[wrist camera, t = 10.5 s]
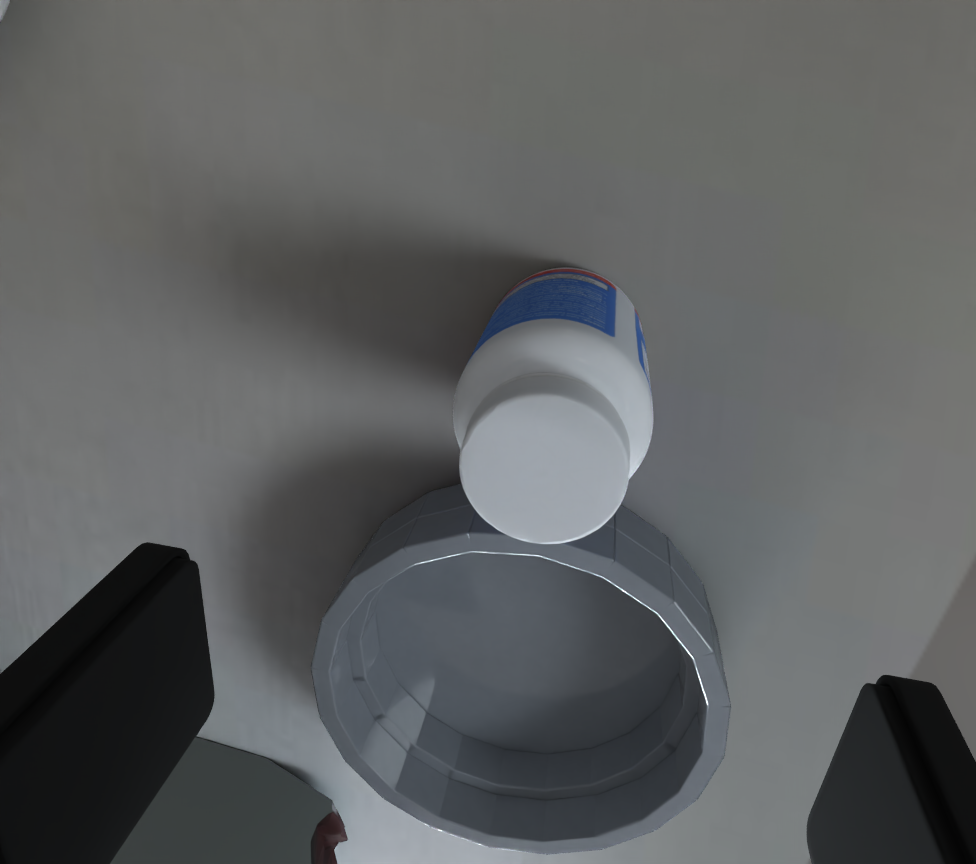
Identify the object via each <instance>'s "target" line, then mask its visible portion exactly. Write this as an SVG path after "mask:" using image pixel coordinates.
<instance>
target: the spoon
mask: <svg viewBox="0 0 976 864" xmlns="http://www.w3.org/2000/svg"><path fill="white" fill-rule="evenodd" d="M9 2H10V0H0V23H1V21H2V19H3V17H4V15H5V13H6V11H7V8H8V5H9Z"/></svg>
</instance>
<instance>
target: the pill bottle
mask: <svg viewBox="0 0 976 864" xmlns="http://www.w3.org/2000/svg"><path fill="white" fill-rule="evenodd" d="M453 425H454V431H455V435H456V439H457V442H458V445H459V447H460V450H461V451H460V457H459V472H460V478H461V482H462V486H463V489H464V492H465V494H466V496H467V498H468V500H469V501H470V503H471V505H472V506H473V507H474V509H475V510H476V511H477V513H478V514H479V515H480V516H481V517H482V518H483V519H484V520H485V521H486V522H487V523H489V524H490V525H492V526H493V527H494V528H496V529H497V530H499V531H501V532H502V533H504V534H506V535H508V536H510V537H513V538H516V539H519V540H522V541H526V542H531V543H539V544H560V543H565V542H570V541H573V540H577V539H580V538H582V537H585V536H587V535H589V534H591V533H592V532H594V531H596V530H598V529H599V528H600V527H601V526H603V525H604V524H605V523H606V522H607V521H608V520H609V519H610V518H611V517H612V516H613V515H614V513H615V512H616V511H617V509H618V508H619V506H620V504H621V502H622V500H623V498H624V496H625V493H626V490H627V487H628V481H629V479H630V478H631V477H632V475H633V474H634V473H635V471H636V470H637V469H638V467H639V466H640V464H641V463H642V461H643V459H644V457H645V455H646V453H647V450H648V447H649V444H650V441H651V437H652V430H653V402H652V393H651V385H650V376H649V367H648V360H647V354H646V347H645V339H644V333H643V329H642V325H641V322H640V319H639V316H638V314H637V311H636V310H635V308H634V306H633V304H632V303H631V301H630V300H629V298H628V297H627V296H626V294H625V293H624V292H623V291H622V290H621V289H620V288H619V287H618V286H616V285H615V284H614V283H612V282H611V281H610V280H608V279H607V278H605V277H603V276H601V275H599V274H597V273H594V272H591V271H588V270H584V269H579V268H569V267H564V268H553V269H548V270H544V271H541V272H538V273H535V274H533V275H531V276H529V277H527V278H525V279H524V280H522V281H520V282H519V283H518V284H516V285H515V286H514V287H513V288H512V289H511V290H510V291H509V292H508V293H507V294H506V295H505V296H504V298H503V299H502V300H501V301H500V303H499V304H498V306H497V307H496V309H495V311H494V313H493V315H492V317H491V319H490V321H489V323H488V325H487V327H486V328H485V330H484V332H483V334H482V336H481V338H480V340H479V342H478V344H477V346H476V348H475V350H474V352H473V353H472V355H471V357H470V359H469V361H468V363H467V365H466V367H465V369H464V371H463V373H462V375H461V378H460V380H459V383H458V385H457V388H456V392H455V397H454V402H453Z"/></svg>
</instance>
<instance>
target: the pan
mask: <svg viewBox="0 0 976 864" xmlns="http://www.w3.org/2000/svg"><path fill="white" fill-rule="evenodd" d="M311 673H312V678H313V684H314V689H315V695H316V700H317V706H318V711H319V715H320V718H321V720H322V722H323V724H324V725H325V727H326V729H327V731H328V732H329V734H330V736H331V738H332V739H333V741H334V743H335V745H336V746H337V748H338V750H339V752H340V753H341V755H342V757H343V759H344V760H345V762H346V763H347V764H349V765H350V766H351V767H352V768H353V769H354V770H355V771H356V772H357V773H358V774H359V775H360V776H361V777H362V778H363V779H364V780H365V781H366V782H367V783H368V784H369V785H370V786H371V787H372V788H373V789H374V790H375V791H376V792H377V793H378V794H379V795H380V796H381V797H382V798H384V799H385V800H386V801H388V802H390V803H391V804H393V805H395V806H396V807H398V808H400V809H401V810H403V811H405V812H406V813H408V814H410V815H411V816H413V817H415V818H416V819H418V820H420V821H421V822H423V823H424V824H426V825H428V826H429V827H433V828H434V829H437V830H440V831H443V832H446V833H448V834H451V835H454V836H457V837H460V838H463V839H466V840H469V841H472V842H474V843H477V844H480V845H483V846H488V847H491V848H499V849H506V850H514V851H522V852H529V853H537V854H546V855H548V854H559V853H571V852H582V851H593V850H602V849H605V848H608V847H611V846H614V845H617V844H620V843H622V842H625V841H628V840H631V839H634V838H637V837H640V836H642V835H645V834H648V833H651V832H654V830H657V829H659V828H660V827H661V826H663V825H664V824H665V823H667V822H668V821H669V820H671V819H672V818H673V817H675V816H676V815H677V814H679V813H680V812H682V811H683V810H684V809H686V808H687V807H688V806H690V805H691V804H692V803H694V802H695V801H696V800H698V798H699V797H700V795H701V794H702V792H703V790H704V789H705V787H706V786H707V784H708V782H709V781H710V779H711V778H712V776H713V775H714V773H715V771H716V770H717V768H718V767H719V765H720V763H721V762H722V760H723V759H724V756H725V749H726V741H727V734H728V726H729V718H730V711H731V704H730V698H729V692H728V687H727V681H726V676H725V671H724V665H723V659H722V654H721V649H720V643H719V638H718V632H717V628H716V625H715V622H714V618H713V615H712V612H711V608H710V605H709V602H708V598H707V595H706V592H705V588H704V585H703V583H702V581H701V580H700V578H699V577H698V576H697V574H696V573H695V572H694V571H693V569H692V568H691V567H690V565H689V564H688V563H687V561H686V560H685V559H684V557H683V556H682V555H681V554H680V552H679V551H678V550H677V548H676V547H675V546H674V544H673V543H672V542H671V541H670V539H669V538H668V537H666V535H664V534H663V533H661V532H660V531H659V530H657V529H656V528H654V527H653V526H651V525H650V524H648V523H647V522H645V521H644V520H643V519H641V518H640V517H638V516H637V515H635V514H634V513H632V512H631V511H629V510H628V509H627V508H625V507H624V506H622V505H621V504H620V506H619V508H618V509H617V511H616V512H615V513H614V515H613V516H612V517H611V518H610V519H609V520H608V521H607V522H606V523H605V524H604V525H603V526H601V527H600V528H599V529H598V530H596V531H594V532H592V533H591V534H589V535H587V536H585V537H582V538H580V539H577V540H573V541H570V542H565V543H560V544H539V543H531V542H526V541H522V540H519V539H516V538H513V537H510V536H508V535H506V534H504V533H502V532H501V531H499V530H497V529H496V528H494V527H493V526H492V525H490V524H489V523H487V522H486V521H485V520H484V519H483V518H482V517H481V516H480V515H479V514H478V513H477V511H476V510H475V509H474V507H473V506H472V505H471V503H470V501H469V500H468V498H467V496H466V494H465V492H464V489H463V486H462V484H458V485H454V486H450V487H446V488H442V489H438V490H434V491H431V492H428V493H427V494H425V495H424V496H422V497H420V498H419V499H417V500H416V501H414V502H413V503H411V504H410V505H408V506H406V507H405V508H403V509H402V510H400V511H399V512H397V513H396V514H394V515H392V516H391V517H389V518H388V519H386V520H385V521H384V522H383V523H382V524H381V526H380V527H379V528H378V530H377V531H376V532H375V534H374V535H373V537H372V538H371V539H370V541H369V542H368V543H367V545H366V546H365V548H364V549H363V550H362V552H361V553H360V554H359V556H358V557H357V558H356V560H355V562H354V564H353V565H352V567H351V569H350V571H349V572H348V574H347V576H346V577H345V579H344V581H343V583H342V584H341V587H340V588H339V590H338V591H337V593H336V595H335V597H334V598H333V600H332V602H331V603H330V605H329V607H328V609H327V610H326V612H325V614H324V616H323V617H322V619H321V623H320V627H319V632H318V636H317V641H316V645H315V650H314V654H313V659H312V663H311Z"/></svg>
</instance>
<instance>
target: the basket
mask: <svg viewBox="0 0 976 864" xmlns="http://www.w3.org/2000/svg"><path fill="white" fill-rule="evenodd" d="M344 827H345V826H344V824H343V821H342V819H341V817H340V815H339V813H338V811H337V809H336V807H335V806H334V804H333V802H332V800H331V799H329V798H328V797H326V796H325V795H323V794H322V793H320V792H318V791H317V790H315V789H314V788H312V787H311V786H309V785H307V784H306V783H304V782H303V781H301V780H300V779H298V778H297V777H295V776H293V775H292V774H290V773H289V772H287V771H286V770H284V769H282V768H281V767H279V766H278V765H276V764H275V763H273V762H271V761H270V760H268V759H267V758H264V757H261V756H257V755H254V754H251V753H247V752H244V751H241V750H237V749H234V748H231V747H227V746H224V745H221V744H217V743H214V742H211V741H207V740H204V739H201V738H197V737H195V738H194V740H193V741H192V743H191V744H190V746H189V747H188V749H187V750H186V752H185V753H184V755H183V756H182V757H181V759H180V760H179V762H178V763H177V765H176V766H175V768H174V769H173V771H172V772H171V774H170V775H169V777H168V778H167V780H166V781H165V783H164V784H163V786H162V787H161V789H160V790H159V792H158V793H157V795H156V796H155V798H154V799H153V801H152V802H151V804H150V805H149V807H148V808H147V809H146V811H145V812H144V814H143V815H142V817H141V818H140V820H139V821H138V823H137V824H136V826H135V827H134V829H133V830H132V832H131V833H130V835H129V836H128V838H127V839H126V841H125V842H124V844H123V845H122V847H121V848H120V850H119V851H118V853H117V854H116V856H115V857H114V859H113V860H112V861H111V863H110V864H337V860H336V856H335V852H334V849H335V847H336V846H337V844H338V842H343V841H347V839H348V838H347V835H346V832H345V829H344Z"/></svg>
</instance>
